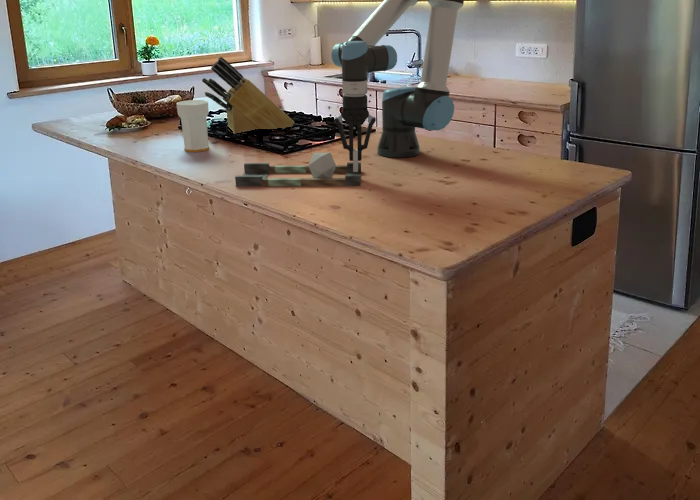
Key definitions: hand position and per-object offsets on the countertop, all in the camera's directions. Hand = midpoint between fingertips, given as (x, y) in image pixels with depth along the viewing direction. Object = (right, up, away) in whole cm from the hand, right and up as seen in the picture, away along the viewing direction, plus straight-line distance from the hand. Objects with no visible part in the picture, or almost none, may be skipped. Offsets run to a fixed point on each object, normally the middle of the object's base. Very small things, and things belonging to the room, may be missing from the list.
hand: (355, 170), depth 218 cm
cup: (-59, +13, +42) cm, 73 cm away
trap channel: (-17, -2, +1) cm, 18 cm away
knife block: (-43, +24, +71) cm, 87 cm away
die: (-10, -2, +1) cm, 11 cm away
